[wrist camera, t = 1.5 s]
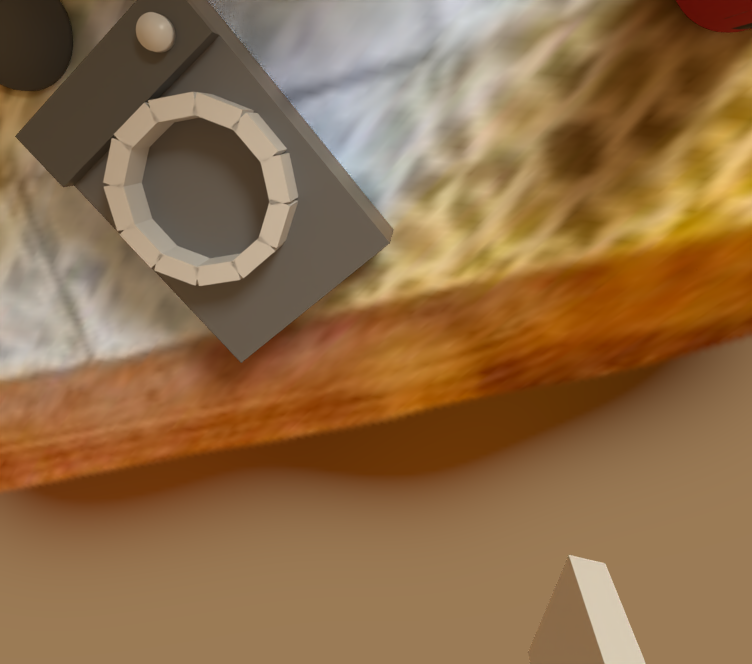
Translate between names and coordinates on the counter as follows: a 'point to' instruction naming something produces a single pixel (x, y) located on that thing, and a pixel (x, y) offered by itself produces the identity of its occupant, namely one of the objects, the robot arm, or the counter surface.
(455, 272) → the counter surface
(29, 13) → the lens cap
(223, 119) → the camera body
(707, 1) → the beverage can
